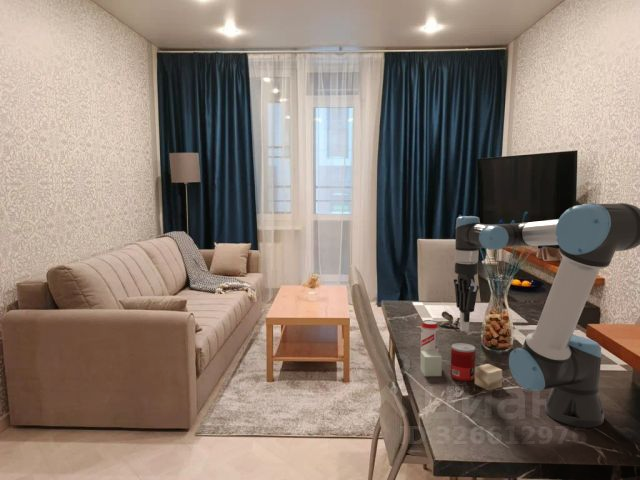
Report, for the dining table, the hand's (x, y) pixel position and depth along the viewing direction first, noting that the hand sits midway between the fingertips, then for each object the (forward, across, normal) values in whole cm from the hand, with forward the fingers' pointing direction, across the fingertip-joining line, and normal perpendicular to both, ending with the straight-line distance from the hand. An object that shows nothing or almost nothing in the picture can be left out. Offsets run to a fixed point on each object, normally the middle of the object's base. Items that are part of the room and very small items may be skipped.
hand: (464, 330), depth 167 cm
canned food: (+17, 0, 0) cm, 17 cm away
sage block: (+17, +6, +9) cm, 20 cm away
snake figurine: (+17, +56, -23) cm, 63 cm away
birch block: (+17, -8, -5) cm, 19 cm away
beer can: (+17, +14, +6) cm, 23 cm away
